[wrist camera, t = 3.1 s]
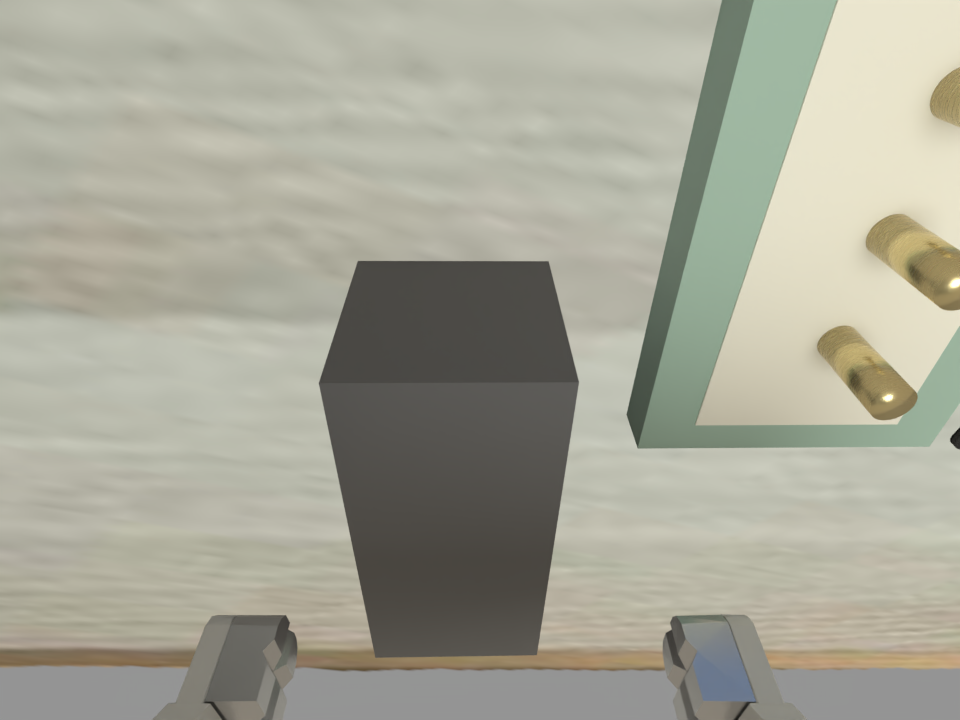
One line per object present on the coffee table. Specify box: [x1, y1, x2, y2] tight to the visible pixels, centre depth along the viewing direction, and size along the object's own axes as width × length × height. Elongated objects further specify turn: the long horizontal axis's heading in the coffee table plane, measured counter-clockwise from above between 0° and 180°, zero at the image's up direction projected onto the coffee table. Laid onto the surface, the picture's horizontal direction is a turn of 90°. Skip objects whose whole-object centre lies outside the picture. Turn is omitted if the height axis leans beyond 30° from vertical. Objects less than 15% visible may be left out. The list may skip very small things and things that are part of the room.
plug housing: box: [319, 261, 579, 658], centre depth 16 cm, size 5×11×5 cm, turn 179°
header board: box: [626, 0, 960, 449], centre depth 13 cm, size 9×14×4 cm, turn 179°
